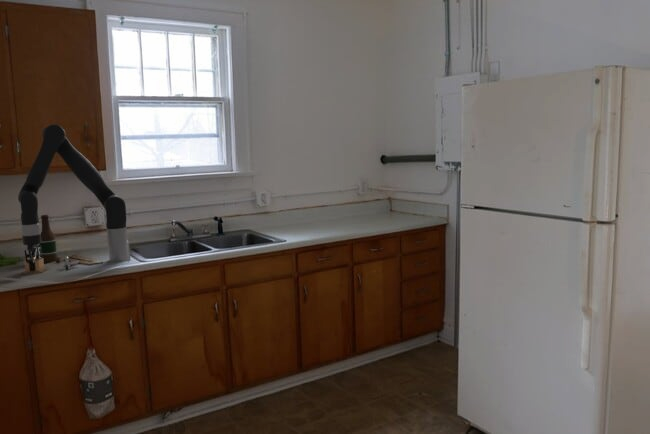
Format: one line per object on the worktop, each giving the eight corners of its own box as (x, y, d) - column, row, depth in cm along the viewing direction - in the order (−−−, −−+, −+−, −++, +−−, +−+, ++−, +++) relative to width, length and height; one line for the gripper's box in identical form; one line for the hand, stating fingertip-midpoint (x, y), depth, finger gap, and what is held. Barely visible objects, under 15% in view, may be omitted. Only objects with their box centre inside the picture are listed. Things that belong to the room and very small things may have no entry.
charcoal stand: (68, 268, 257) (66, 255, 256) (79, 269, 254) (77, 255, 253) (56, 271, 250) (54, 258, 249) (67, 272, 248) (66, 259, 247)
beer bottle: (38, 261, 275) (33, 215, 272) (54, 259, 280) (50, 213, 277) (43, 263, 269) (38, 216, 266) (60, 261, 275) (55, 214, 271)
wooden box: (29, 271, 253) (27, 257, 252) (49, 270, 254) (48, 256, 253) (21, 276, 244) (20, 261, 243) (42, 274, 245) (41, 260, 244)
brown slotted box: (30, 269, 251) (29, 258, 250) (44, 268, 252) (43, 257, 251) (25, 272, 245) (24, 261, 244) (39, 271, 246) (38, 260, 245)
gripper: (34, 235, 240) (38, 272, 242) (45, 230, 254) (49, 265, 256) (16, 236, 239) (20, 273, 241) (28, 231, 253) (32, 266, 255)
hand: (35, 269), depth 249 cm, fingers closed on brown slotted box, 6 cm apart
